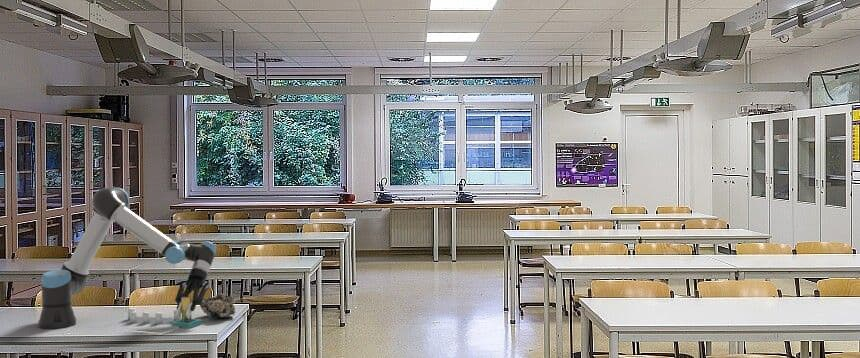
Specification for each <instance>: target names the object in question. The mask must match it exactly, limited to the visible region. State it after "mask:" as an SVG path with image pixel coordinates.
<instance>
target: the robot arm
mask: <svg viewBox="0 0 860 358" xmlns="http://www.w3.org/2000/svg"><path fill="white" fill-rule="evenodd" d="M91 204H92V207H93V208H92V212H93V216H92V217H91V220H90V222H89V224H88V225H87V227H86V228H85V231H84V232H83V235H82V236H81V238H80V240H79V242H78V244H77V245H76V248H75V249H74V250H73V251H74V252H73V253H72V255H71V257H70V259H69V260H68V261H65V262H63V264H62V267H61V268H60V269H53V270H49V271H46V272H44V273H43V274H42V276H41V282H40V283H41V301H42V302H41V307H42V308H41V309H42V310H41V313H40V317H39V320H38V321H37V322H38V324H37V325H38V326H39V327H38V326H37V327H38V328H40V327H41V329H61V328H67V327H72V326H74V325H76V324H77V317H76V316H75V312H74V310H73V307H72V306H73V305H72V296H75V295H78V294H79V293H80V292H82V291H83V289H85V288H86V285H87V281H88V279H87V278H88V276H89V274H90V271H89V267H90V265H91V264H92V261H93V260H94V257H95V256H96V253H97V252H98V250H99V248H100V247H101V244H102V243H103V241H104V239H105V237H106V236H107V234H108V231H109V230H110V228H111V226H112V224H113V223H115V222H116V223H117V224H118V225H120V226H121V227H122V228H124V229H125V230H127V231H128V232H129V233H131V235H133V236H135V237H137V238H138V239H139V240H140V241H142V242H143V243H145V244H147V245H148V246H149V247H151V248H152V249H154V250H155V251H156V252H157V253H160V254H161V255H162V256H164V258H165V260H166V261H167V263H169V264H171V265H172V264H173V265H176V264H181V263H182V262H183V261H189V262H193V264H192V267H191V269H190V272H189V274H188V279H187V280H186V281H185V282H181V281H180V282H179V287H178V290H177V294H176V296H175V299H174V301H175V302H176V304H177V305H176V308H175V310H177V312H176V316H177V318H180V315H181V316H182V303H181V297H187V296H190V294H191V293H192V291H193V294H192V299H191V302H190V304H189V307H188V310H187V312H186V317H187V318H188V319H189V318H190V315H191V316H192V312H194V311H195V309H196V306H197V305H199V304H201V303H202V301H203V299H205V295H206V293H207V291H208V290H209V288H210V286H209V284H208V283H207V282H206V280H207V277H208V274H209V271H210V270H211V266H212V264H213V261H214V258H215V257H216V252H217V246H216V245H215V244H214V243H213V242H211V241H203V242H201V243H200V245H199V244H193V243H188V242H183V241H177V240H173V239H171V238H169V236H167V235H165V234H164V233H163V232H161V231H160V230H158V229H157V228H156V227H154V226H153V225H151V224H150V223H149V222H147V221H146V220H145V219H143V218H141V217H140V216H139V215H138V214H136V213H135V212H133V211H132V210H130V209H129V208H128V207H129V204H130V195H129V194H128V192H127V191H126V190H125V189H123V188H121V187H117V186H110V187H104V188H100V189H99V190H97V191H96V192H95V193H94V195H93V197H92V203H91Z"/></svg>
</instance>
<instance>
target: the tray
mask: <svg viewBox="0 0 860 358" xmlns="http://www.w3.org/2000/svg"><path fill="white" fill-rule="evenodd" d="M191 319H192V320H191V321H182V319H180V320H177V321H174V322H171V326H175V327H179V329H191V328H195V327H197V326H201V325H203V323H202V322H203V319H200V318H191Z"/></svg>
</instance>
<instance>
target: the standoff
mask: <svg viewBox="0 0 860 358" xmlns="http://www.w3.org/2000/svg"><path fill="white" fill-rule="evenodd" d="M190 302H192V296H190V295H188V296H187V297H181V303H182V313H181V318H182V321H191V320H192V319H193V318H192V314H191V315H190V318H189V319H188V318H187V317H186V312H187V310H188V307H189V304H190Z"/></svg>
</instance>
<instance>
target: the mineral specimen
mask: <svg viewBox="0 0 860 358" xmlns="http://www.w3.org/2000/svg"><path fill="white" fill-rule="evenodd" d="M198 305H199V307H200V309H201V311H202V312H203V313H204V314H206V315H207V317H208V318H209V319H212V320H214V319H219V318H222V319H224V318H225V319H226V318H228V317H229V316H235V314H236V308H235V305H234V297H232V296H231V295H226V294H225V293H219V294H218V295H215V296H211V297H210V296H209V297H206V298H205V297H204V298H203V300H202V303H201V304H198Z"/></svg>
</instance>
